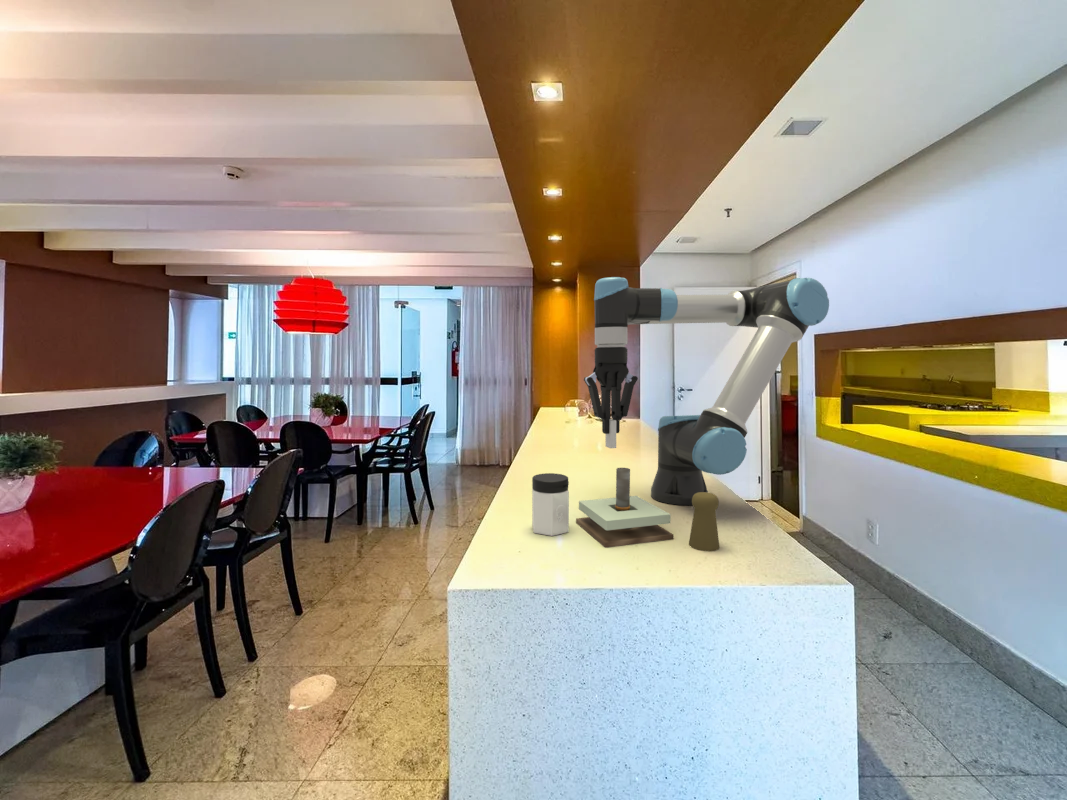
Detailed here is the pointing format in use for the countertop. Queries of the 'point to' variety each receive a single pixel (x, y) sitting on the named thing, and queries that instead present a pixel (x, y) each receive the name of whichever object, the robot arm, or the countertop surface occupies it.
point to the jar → (550, 504)
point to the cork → (704, 522)
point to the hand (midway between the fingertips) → (610, 447)
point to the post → (627, 534)
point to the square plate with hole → (624, 513)
